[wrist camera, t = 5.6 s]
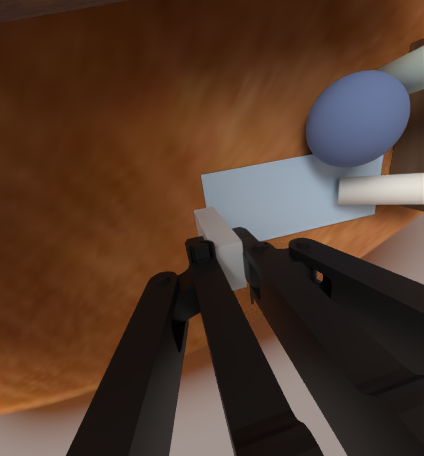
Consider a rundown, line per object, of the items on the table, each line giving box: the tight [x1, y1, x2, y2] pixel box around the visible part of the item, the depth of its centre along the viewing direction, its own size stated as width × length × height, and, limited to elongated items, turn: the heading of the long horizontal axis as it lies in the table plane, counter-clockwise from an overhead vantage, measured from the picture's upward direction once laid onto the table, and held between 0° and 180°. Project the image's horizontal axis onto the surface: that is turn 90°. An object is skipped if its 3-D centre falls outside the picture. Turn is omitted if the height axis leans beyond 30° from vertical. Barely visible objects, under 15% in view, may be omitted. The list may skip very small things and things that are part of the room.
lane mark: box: [201, 154, 384, 241], centre depth 20 cm, size 17×7×1 cm, turn 99°
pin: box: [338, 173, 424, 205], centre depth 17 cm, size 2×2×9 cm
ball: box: [305, 70, 410, 168], centre depth 15 cm, size 6×6×6 cm
